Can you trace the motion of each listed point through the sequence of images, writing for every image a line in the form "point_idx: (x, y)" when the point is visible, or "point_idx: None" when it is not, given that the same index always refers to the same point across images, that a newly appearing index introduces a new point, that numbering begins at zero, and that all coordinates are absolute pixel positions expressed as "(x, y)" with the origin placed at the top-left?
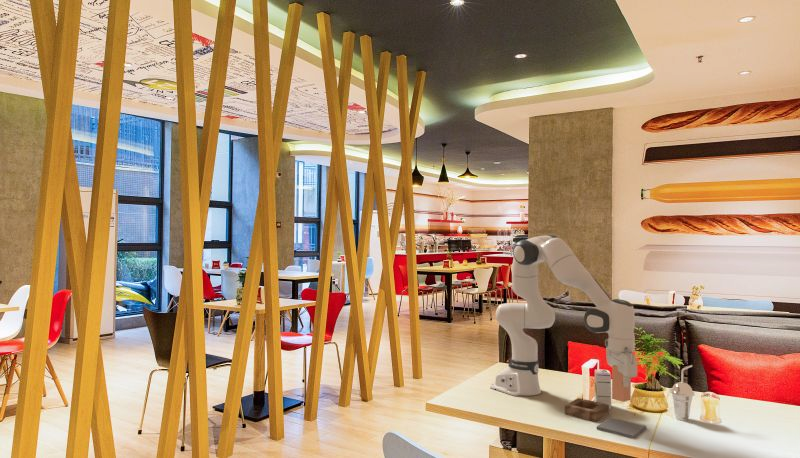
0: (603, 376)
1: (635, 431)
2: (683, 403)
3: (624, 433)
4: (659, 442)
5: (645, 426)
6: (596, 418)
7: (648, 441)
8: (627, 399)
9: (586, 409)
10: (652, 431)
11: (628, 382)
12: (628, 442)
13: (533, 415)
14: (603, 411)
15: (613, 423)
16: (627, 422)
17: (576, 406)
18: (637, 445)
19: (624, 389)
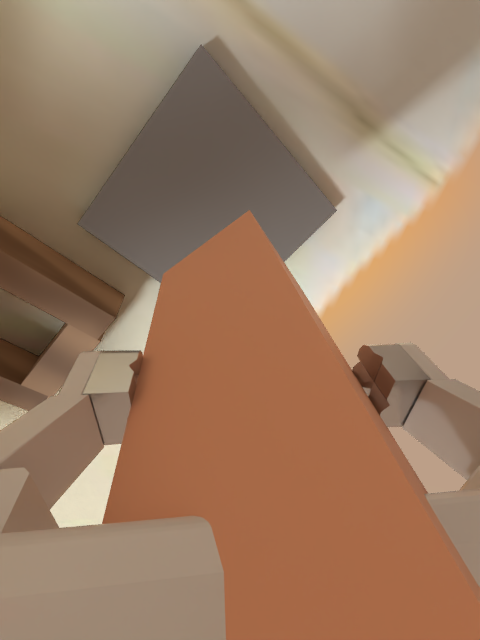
0: None
1: (287, 174)
2: None
3: (304, 240)
4: (400, 87)
5: (212, 59)
6: (120, 301)
7: (374, 146)
8: (277, 252)
9: (78, 348)
10: (246, 28)
11: (443, 378)
12: (362, 245)
13: (99, 459)
14: (29, 253)
15: (175, 243)
16: (149, 156)
17: (40, 377)
18: (397, 221)
19: (330, 336)
